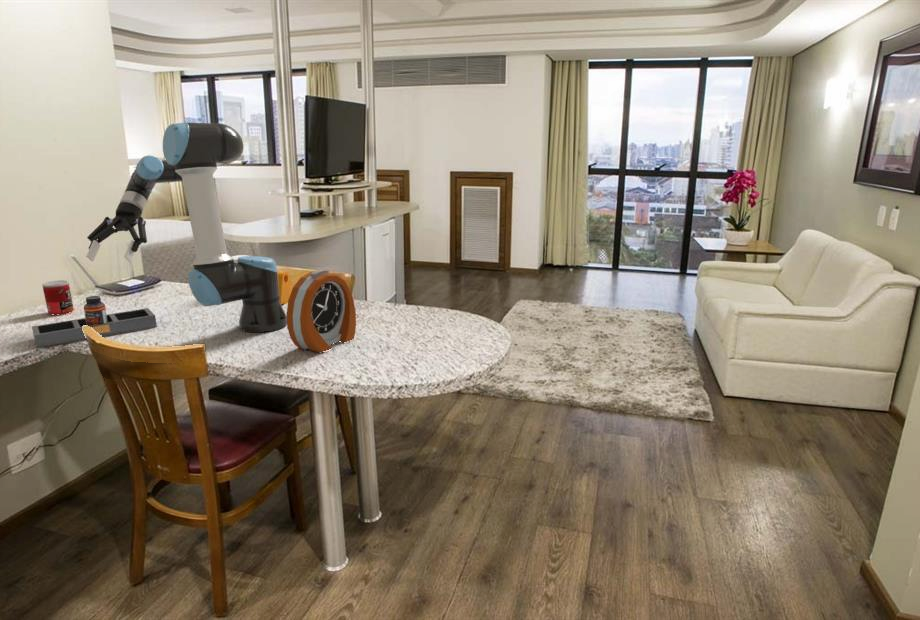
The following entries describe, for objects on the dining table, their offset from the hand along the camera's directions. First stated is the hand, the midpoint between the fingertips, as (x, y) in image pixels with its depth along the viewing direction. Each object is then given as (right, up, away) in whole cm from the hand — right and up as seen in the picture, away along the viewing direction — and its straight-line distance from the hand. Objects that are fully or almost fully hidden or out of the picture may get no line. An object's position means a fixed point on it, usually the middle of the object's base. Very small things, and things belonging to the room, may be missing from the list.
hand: (108, 259), depth 196 cm
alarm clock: (+75, -27, -14) cm, 81 cm away
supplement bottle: (-1, -24, -4) cm, 24 cm away
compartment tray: (-1, -24, -4) cm, 24 cm away
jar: (+29, -11, +41) cm, 52 cm away
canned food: (-28, -18, +18) cm, 37 cm away
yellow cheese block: (+47, -14, +30) cm, 58 cm away
